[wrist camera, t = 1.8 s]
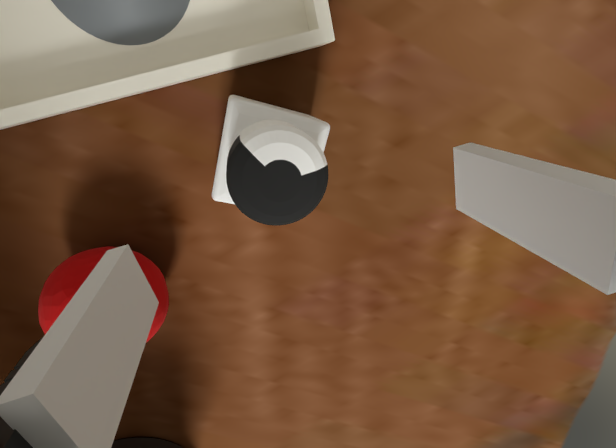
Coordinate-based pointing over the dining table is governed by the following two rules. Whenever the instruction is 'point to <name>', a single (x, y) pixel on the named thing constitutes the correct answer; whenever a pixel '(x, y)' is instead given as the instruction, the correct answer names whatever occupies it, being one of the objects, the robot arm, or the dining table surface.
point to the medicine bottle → (271, 161)
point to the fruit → (76, 272)
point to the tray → (138, 46)
